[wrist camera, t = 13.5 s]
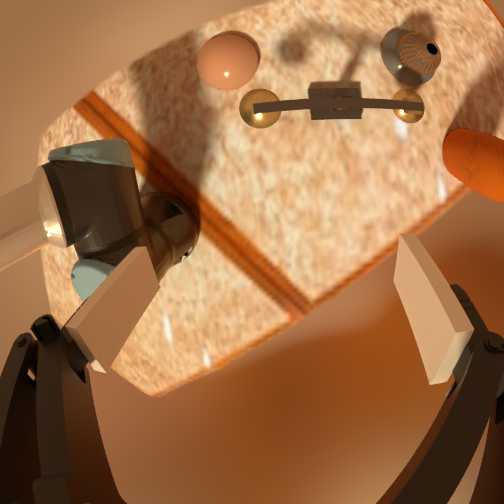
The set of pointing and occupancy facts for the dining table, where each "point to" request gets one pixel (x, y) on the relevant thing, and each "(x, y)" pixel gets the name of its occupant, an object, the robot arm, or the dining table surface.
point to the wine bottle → (476, 161)
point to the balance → (327, 105)
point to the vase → (418, 53)
